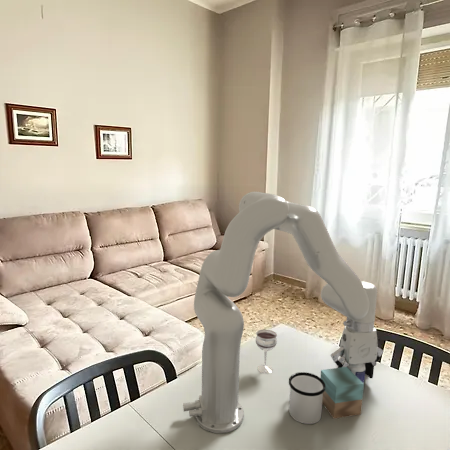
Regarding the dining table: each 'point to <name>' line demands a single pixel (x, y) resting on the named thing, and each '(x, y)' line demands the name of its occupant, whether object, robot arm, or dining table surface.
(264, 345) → the wineglass
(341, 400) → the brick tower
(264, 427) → the dining table surface
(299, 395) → the mug
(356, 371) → the pill bottle
